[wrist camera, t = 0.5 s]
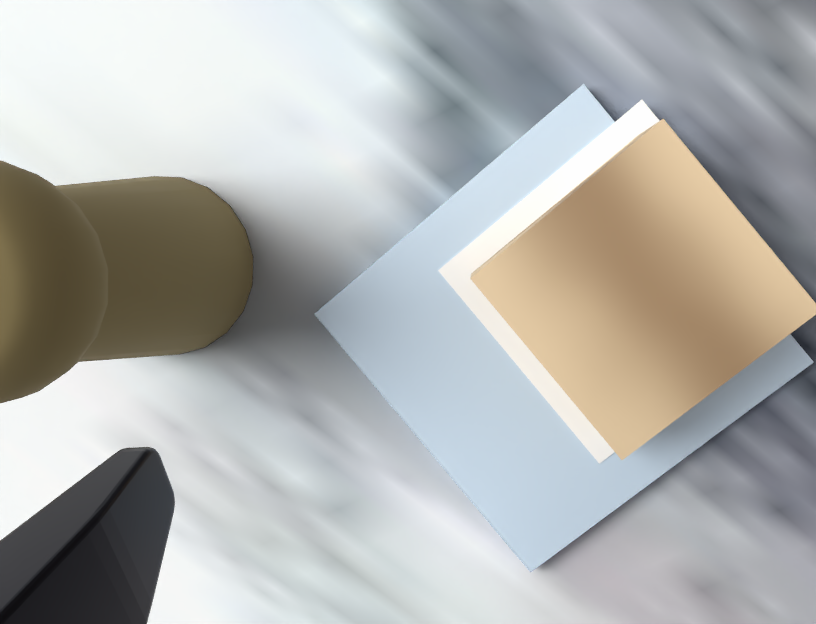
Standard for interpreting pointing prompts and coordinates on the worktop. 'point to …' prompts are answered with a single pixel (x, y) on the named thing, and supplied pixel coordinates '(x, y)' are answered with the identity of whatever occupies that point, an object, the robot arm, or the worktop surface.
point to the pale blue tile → (515, 350)
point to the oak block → (643, 290)
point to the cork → (112, 273)
